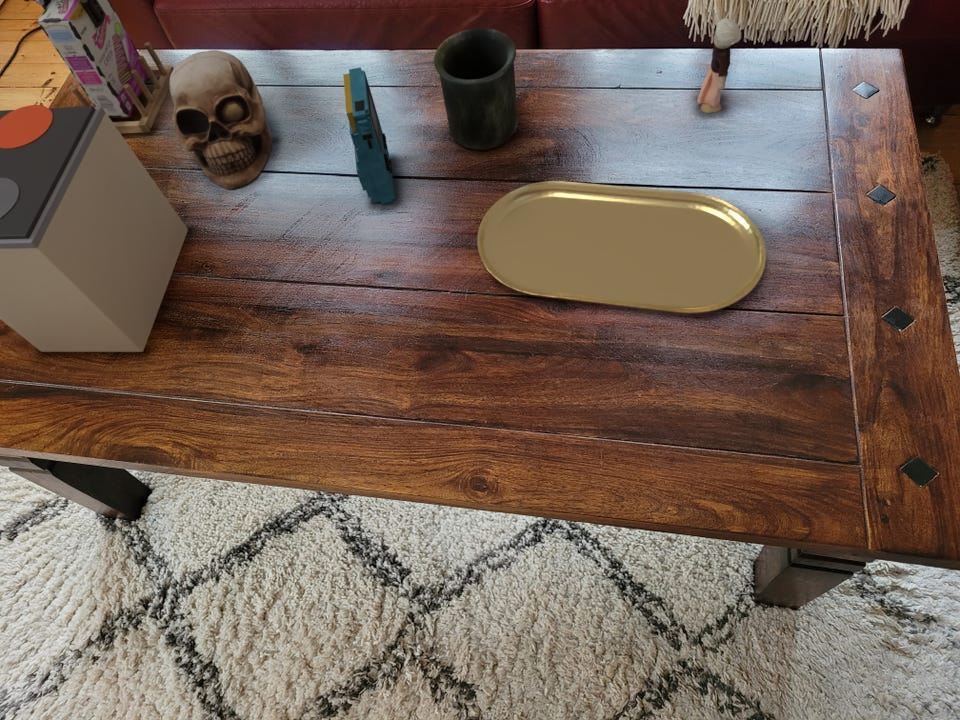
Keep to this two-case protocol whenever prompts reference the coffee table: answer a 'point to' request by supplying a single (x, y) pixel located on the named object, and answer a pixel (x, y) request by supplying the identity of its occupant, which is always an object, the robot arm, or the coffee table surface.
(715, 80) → the grandmother figurine
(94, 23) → the robot arm
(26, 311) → the stove
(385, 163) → the handheld gaming console
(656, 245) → the serving platter
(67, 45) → the candy bar box
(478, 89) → the mug
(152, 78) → the rack
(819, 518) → the coffee table surface
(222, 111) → the tan skull
